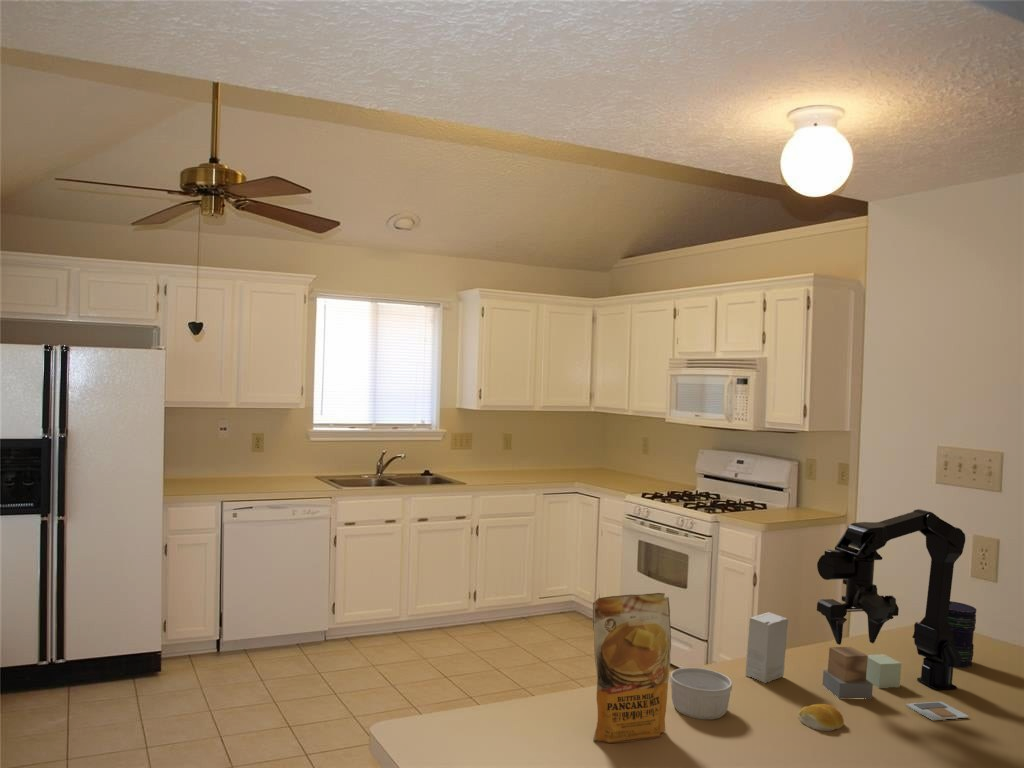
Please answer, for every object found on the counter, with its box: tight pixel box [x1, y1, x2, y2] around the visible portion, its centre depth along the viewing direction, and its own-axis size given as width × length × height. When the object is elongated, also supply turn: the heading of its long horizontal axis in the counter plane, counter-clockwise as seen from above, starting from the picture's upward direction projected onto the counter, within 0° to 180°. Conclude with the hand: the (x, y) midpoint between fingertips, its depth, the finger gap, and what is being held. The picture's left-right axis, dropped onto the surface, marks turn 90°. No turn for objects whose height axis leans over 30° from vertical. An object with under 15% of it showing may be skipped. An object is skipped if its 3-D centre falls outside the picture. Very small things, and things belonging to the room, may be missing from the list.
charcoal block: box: [822, 669, 874, 700], centre depth 195 cm, size 8×8×4 cm
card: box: [905, 701, 970, 721], centre depth 186 cm, size 10×8×1 cm
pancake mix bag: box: [592, 592, 672, 744], centre depth 165 cm, size 7×19×28 cm, turn 111°
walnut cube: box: [827, 646, 869, 682], centre depth 195 cm, size 6×6×6 cm
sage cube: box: [866, 653, 902, 689], centre depth 202 cm, size 6×6×6 cm
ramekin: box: [669, 667, 733, 721], centre depth 180 cm, size 13×13×7 cm
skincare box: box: [745, 611, 789, 684], centre depth 201 cm, size 8×6×15 cm
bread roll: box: [797, 703, 845, 732], centre depth 177 cm, size 8×9×4 cm
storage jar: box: [948, 600, 977, 669], centre depth 222 cm, size 10×10×15 cm
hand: (855, 643), depth 194 cm, fingers open, 9 cm apart
